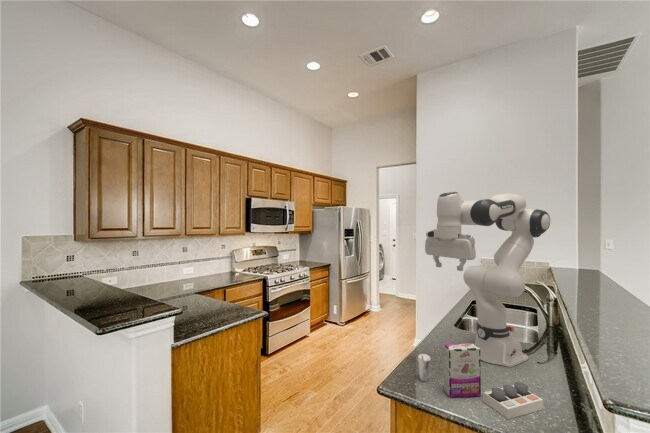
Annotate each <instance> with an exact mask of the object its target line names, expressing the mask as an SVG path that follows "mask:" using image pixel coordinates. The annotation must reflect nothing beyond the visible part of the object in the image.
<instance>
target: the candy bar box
mask: <svg viewBox="0 0 650 433" xmlns="http://www.w3.org/2000/svg"><path fill="white" fill-rule="evenodd" d="M442 349H443V350H442V351H443V391H444V392H445V393H446V395H447V396H448V397H449V399H450V398H452V399H453V398H454V399H456V398H474V397H481V395H482V393H481V391H482V384H481V381H482V379H481V377H482V374H481V367H482V366H481V360H480V348H479V347H477V346H476V345H475V343H473V342H471V343H470V342H468V343H443V348H442Z"/></svg>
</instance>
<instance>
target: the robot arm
mask: <svg viewBox="0 0 650 433" xmlns="http://www.w3.org/2000/svg"><path fill="white" fill-rule="evenodd" d="M526 207H527V200H526V199H525V197H524V196H522V195H521V194H517V193H511V192H510V193H509V192H505V193H498V194H495V195H493V196H491V197H489V198H487V199H479V200H476V199H475V200H466V199H463V198H462V197H461V195H460V193H459V192H458V191H451V192H444V193H441V194H439V195H438V199H437V204H436V217H437V222H436V228H435V229H431V230H428V231H426V232H425V237H426V239H425V243H424V253H425V254H426V255H429V256H432V259H433V260H434V262H435V267H436V268H442V267H443V265H442V262H441V261H440V260H439V258H440V257H441V258H448V259H449V258H451V259H456V260H457V259H458V260H459V264H458V265H457V266H456V270H457V271H458V272H463V271H464V272H463V281H464V284H466V286H467V287H468V288H469V289H470V291H471V293H472V294H473V297H474V299H475V303H476V307H477V308H476V311H477V321H476V324H475V327H476V329H475V330H476V333H475V340H474V341H475V342H474V344H475V345H476V346H477V347H479V348H480V361H483V362H486V363H488V364H493V365H499V366H504V367H507V368H513V367H515V366H517V365H519V364H521V363H525V362H526V361H528V360H529V356H528V355H527V354H526V353H525V352H523V350H522V344H521V343H520V342H519V341H518V340H517V339H515V337H513V336H512V335H511V334H510V332H511V333H513V332H514V331H515V328H514V326H510V325H508V326H507V312H508V311H507V308H506V306H505V305H504V304H503V303H502V302H501V301H500V300H499V299H498V297H497V296H500V297H505V298H507V297H508V298H518V297H520V296H521V295H522V294H523V293H524V292H525V288H526V283H525V280H524V278H523V276H522V275H521V274H520V270H521V268H522V266H523V264H524V262H525V261H526V259H527V258H528V257H529V255H530V254H531V251H532V250H533V247H534V244H535V239H534V238H539V237H541V236H542V235H543V234H544V233H545V232H547V230H548V229H549V228H550V227H551V216H550V214H549V213H548V212H547V211H546V210H543V209H538V208H537V209H533V208H531V209H530V208H526ZM494 224H495V225H496V227H497V228H498V229H499V230H501V231H506V232H508V231H509V232H511V235H510V236H509V237H508V238H506V239H505V240H504V241H503V243H502V244H501V245H500V247H499V248H498V249H497V251H496V252H495V253H494V254H493V261H494V263H495V265H496V267H489V266H483V265H471V266H468V267H467V268H466V269H465V270H464V266H465V264H466V263H467V261H474V260H475V259H476V257H477V256H476V255H477V254H476V246H475V244H476V240H475V238H474V236H472V235H471V234H463V233H462V225H465V226H466V225H467V226H481V227H482V226H483V227H491V226H493V225H494Z"/></svg>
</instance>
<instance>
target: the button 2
mask: <svg viewBox="0 0 650 433" xmlns="http://www.w3.org/2000/svg"><path fill="white" fill-rule="evenodd" d="M513 385H514V387H515V388H516V389H517V393H518V394H519V395H521V396H526V395H528V391H529V386H528V385H527V384H525V383H524V382H521V381H519V382H518V381H517V382H516V381H515V382H514V383H513Z"/></svg>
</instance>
